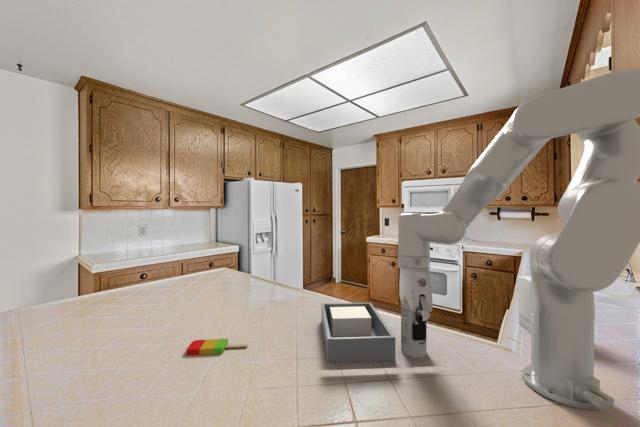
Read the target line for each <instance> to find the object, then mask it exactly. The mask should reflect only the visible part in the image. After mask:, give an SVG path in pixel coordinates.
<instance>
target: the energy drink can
mask: <svg viewBox="0 0 640 427" xmlns="http://www.w3.org/2000/svg"><path fill="white" fill-rule="evenodd" d="M400 301H401V303H400V312H401V313H400V350H401V353H403V355H405V356H407V357H412V358H417V359H419V358H425V356H427V339H426V340H420V341H414V340H413V339H412V323H414V319H413V311H411V310H410V309H409V305H408V303H407V300H406V298H405V296H404V297H403V299H402V300H400ZM416 310H421V308H420V307H416ZM419 315H421V313H417V318H418V316H419ZM427 325H428V324H427ZM427 325H426V330H428V329H427Z"/></svg>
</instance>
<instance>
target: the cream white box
mask: <svg viewBox="0 0 640 427" xmlns="http://www.w3.org/2000/svg"><path fill="white" fill-rule="evenodd" d="M330 326H331V331H332V335H333V336H365V335H371V316H370V315H369V313H368V311H367V310H366V308H365V306H360V307H330Z"/></svg>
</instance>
